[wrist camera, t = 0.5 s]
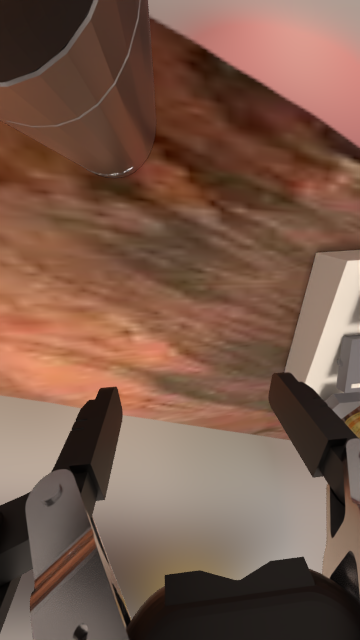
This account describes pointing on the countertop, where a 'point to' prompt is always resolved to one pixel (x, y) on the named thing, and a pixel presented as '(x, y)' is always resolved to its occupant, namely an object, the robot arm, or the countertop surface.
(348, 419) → the sauce bottle
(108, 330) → the countertop surface
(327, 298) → the switch console
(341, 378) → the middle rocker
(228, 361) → the countertop surface
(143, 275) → the countertop surface
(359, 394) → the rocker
